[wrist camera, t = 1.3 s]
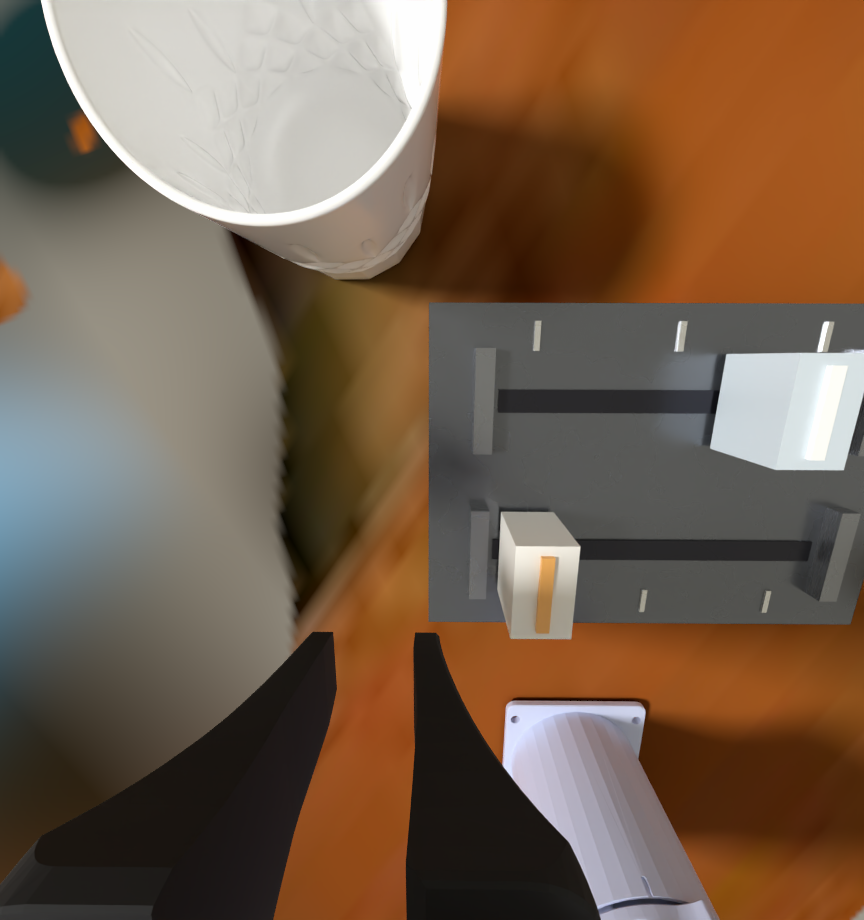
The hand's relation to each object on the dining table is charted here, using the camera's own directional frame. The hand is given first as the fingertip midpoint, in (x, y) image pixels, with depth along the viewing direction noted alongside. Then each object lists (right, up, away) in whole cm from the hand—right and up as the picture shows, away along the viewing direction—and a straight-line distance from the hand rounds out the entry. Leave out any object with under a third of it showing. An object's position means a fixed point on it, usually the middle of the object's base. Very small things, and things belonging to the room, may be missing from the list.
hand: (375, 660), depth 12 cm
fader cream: (+6, +2, +7) cm, 9 cm away
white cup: (-2, +17, +6) cm, 18 cm away
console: (+12, +6, +8) cm, 16 cm away
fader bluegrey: (+15, +8, +5) cm, 18 cm away
